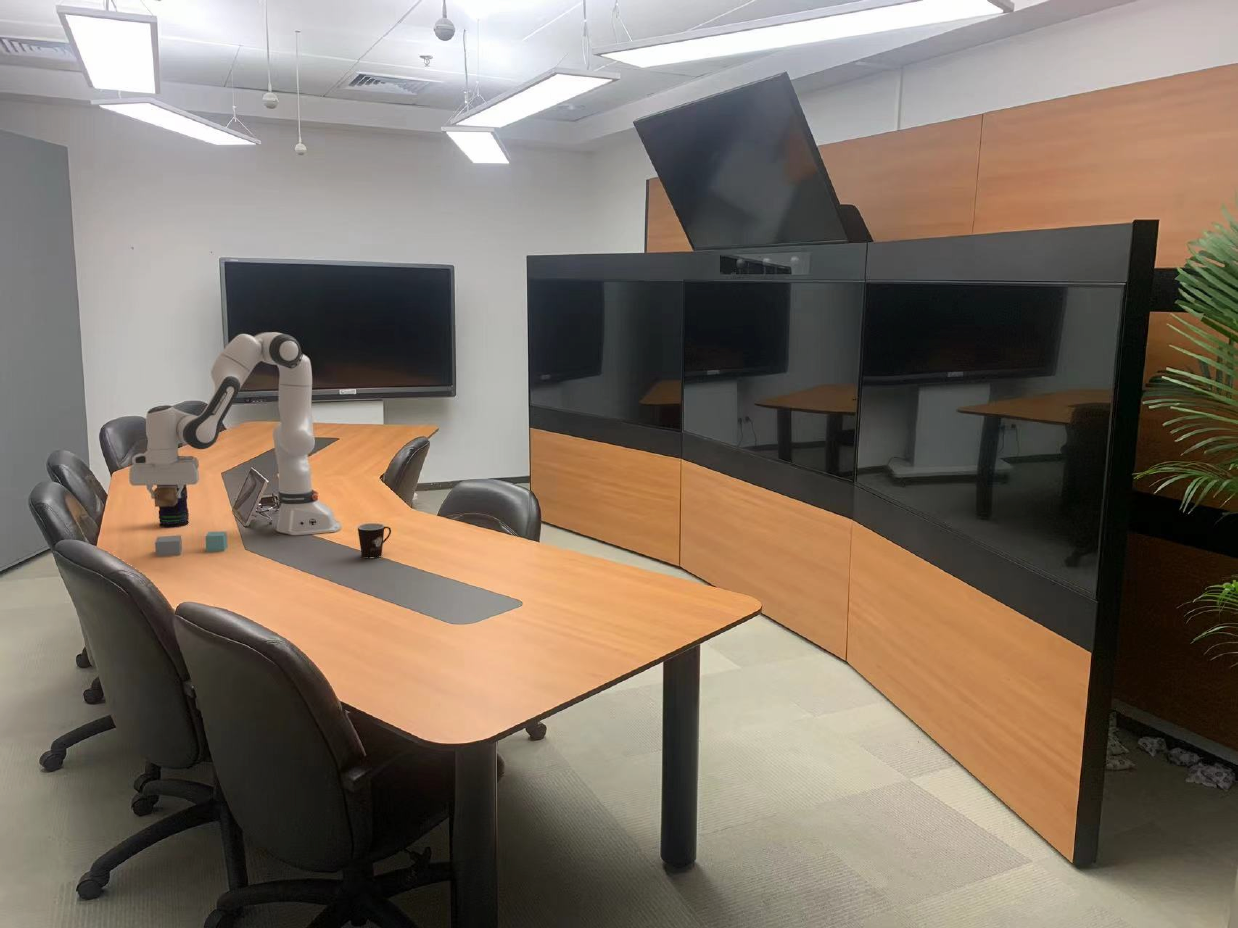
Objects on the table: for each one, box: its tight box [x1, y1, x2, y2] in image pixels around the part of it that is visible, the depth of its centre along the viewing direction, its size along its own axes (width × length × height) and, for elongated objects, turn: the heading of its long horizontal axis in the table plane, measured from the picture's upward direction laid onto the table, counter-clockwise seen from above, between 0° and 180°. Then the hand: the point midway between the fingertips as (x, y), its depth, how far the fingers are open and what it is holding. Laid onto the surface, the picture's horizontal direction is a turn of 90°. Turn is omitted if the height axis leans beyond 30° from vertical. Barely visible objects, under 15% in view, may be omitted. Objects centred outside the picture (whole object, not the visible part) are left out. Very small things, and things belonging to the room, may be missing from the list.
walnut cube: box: [153, 486, 178, 508], centre depth 293 cm, size 6×6×6 cm
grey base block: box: [154, 534, 183, 558], centre depth 296 cm, size 7×7×5 cm
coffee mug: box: [357, 522, 392, 559], centre depth 299 cm, size 12×9×10 cm
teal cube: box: [205, 530, 228, 553], centre depth 301 cm, size 6×6×6 cm
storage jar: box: [156, 485, 190, 529], centre depth 329 cm, size 10×10×15 cm
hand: (166, 498), depth 293 cm, fingers closed on walnut cube, 5 cm apart
